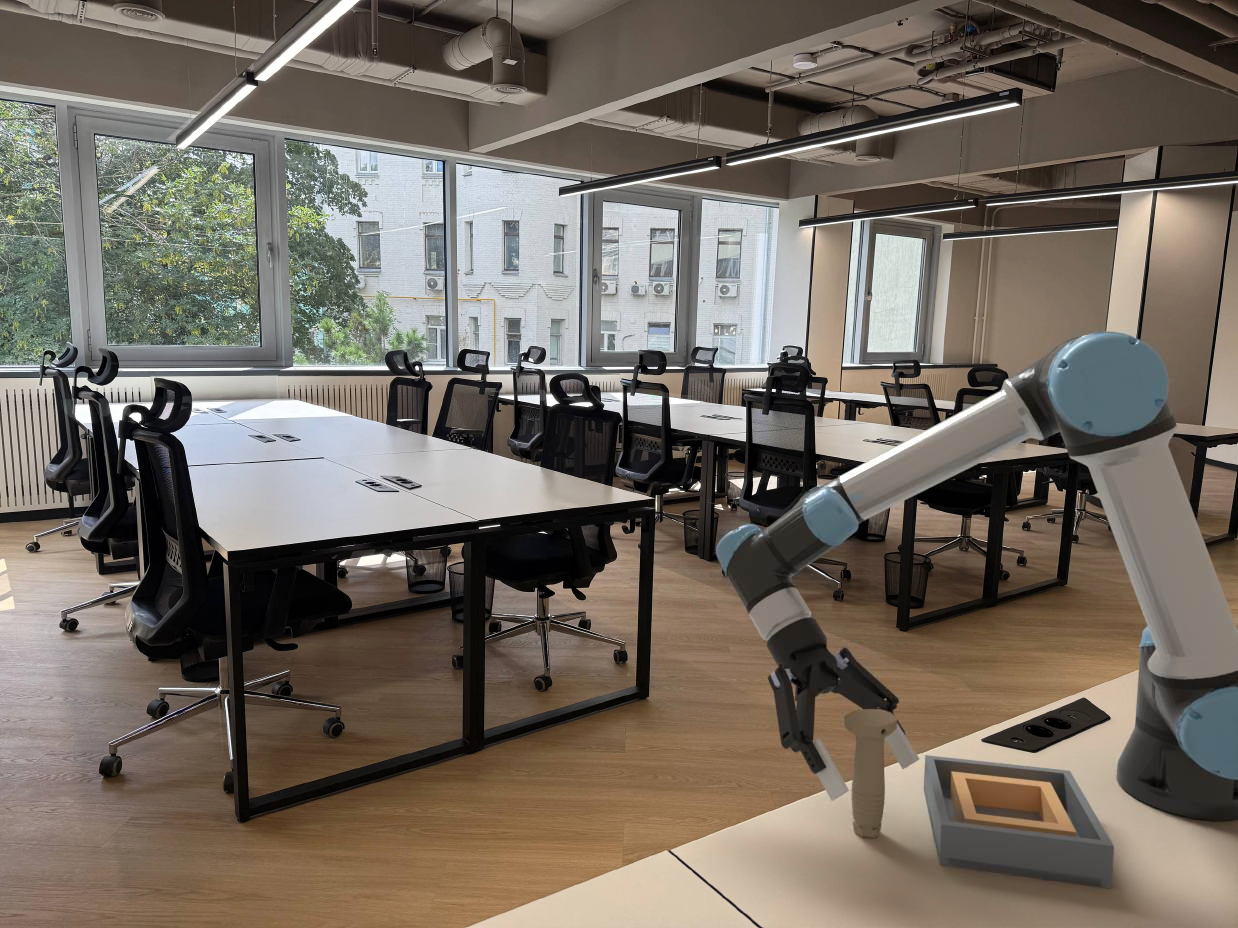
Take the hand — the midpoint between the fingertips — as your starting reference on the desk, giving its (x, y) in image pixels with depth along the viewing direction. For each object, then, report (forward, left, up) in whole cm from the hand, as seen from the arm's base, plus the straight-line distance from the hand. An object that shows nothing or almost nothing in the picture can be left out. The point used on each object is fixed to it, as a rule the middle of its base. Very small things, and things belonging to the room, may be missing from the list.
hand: (877, 779), depth 102 cm
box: (-16, -5, -8) cm, 18 cm away
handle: (+1, -1, -8) cm, 8 cm away
